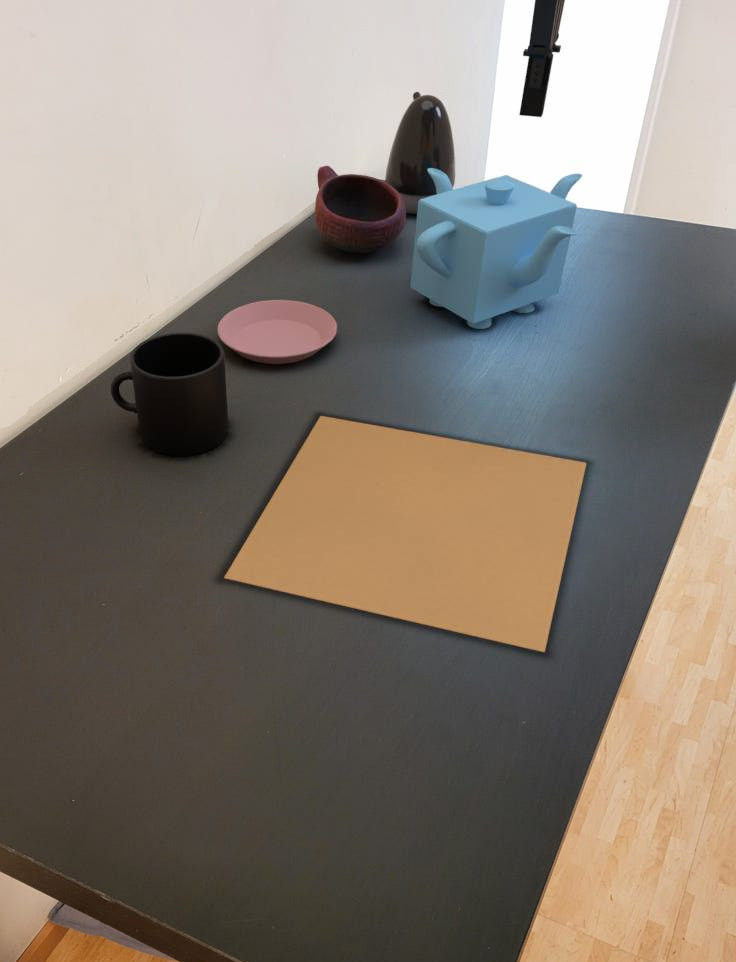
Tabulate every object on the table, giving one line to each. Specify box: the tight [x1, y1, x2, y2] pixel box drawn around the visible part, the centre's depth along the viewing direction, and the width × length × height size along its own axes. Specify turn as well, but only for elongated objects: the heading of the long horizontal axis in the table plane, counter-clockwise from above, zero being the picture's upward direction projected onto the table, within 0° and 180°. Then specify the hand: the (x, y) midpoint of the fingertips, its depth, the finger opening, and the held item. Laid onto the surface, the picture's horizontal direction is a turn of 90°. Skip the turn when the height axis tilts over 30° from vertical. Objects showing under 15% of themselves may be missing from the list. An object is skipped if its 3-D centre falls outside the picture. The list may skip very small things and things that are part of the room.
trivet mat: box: [223, 415, 587, 654], centre depth 88 cm, size 28×28×1 cm
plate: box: [217, 299, 338, 365], centre depth 112 cm, size 14×14×2 cm
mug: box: [110, 331, 229, 457], centre depth 97 cm, size 9×12×9 cm
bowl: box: [314, 165, 407, 254], centre depth 130 cm, size 16×13×8 cm
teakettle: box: [409, 168, 583, 330], centre depth 113 cm, size 19×19×15 cm
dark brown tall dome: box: [384, 91, 456, 215], centre depth 136 cm, size 10×10×15 cm
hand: (531, 114), depth 117 cm, fingers closed
